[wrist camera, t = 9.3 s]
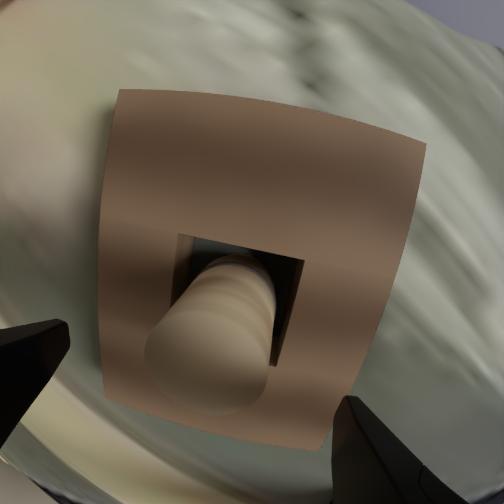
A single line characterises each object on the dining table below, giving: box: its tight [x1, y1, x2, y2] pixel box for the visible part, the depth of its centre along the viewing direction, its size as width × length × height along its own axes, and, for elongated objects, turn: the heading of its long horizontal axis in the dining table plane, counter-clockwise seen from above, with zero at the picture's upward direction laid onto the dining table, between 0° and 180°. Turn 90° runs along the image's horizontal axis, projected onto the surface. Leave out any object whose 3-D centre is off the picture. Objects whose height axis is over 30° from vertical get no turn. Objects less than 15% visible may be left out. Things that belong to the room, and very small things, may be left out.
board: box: [97, 89, 426, 451], centre depth 15 cm, size 18×14×3 cm
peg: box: [144, 253, 276, 415], centre depth 13 cm, size 4×4×8 cm
